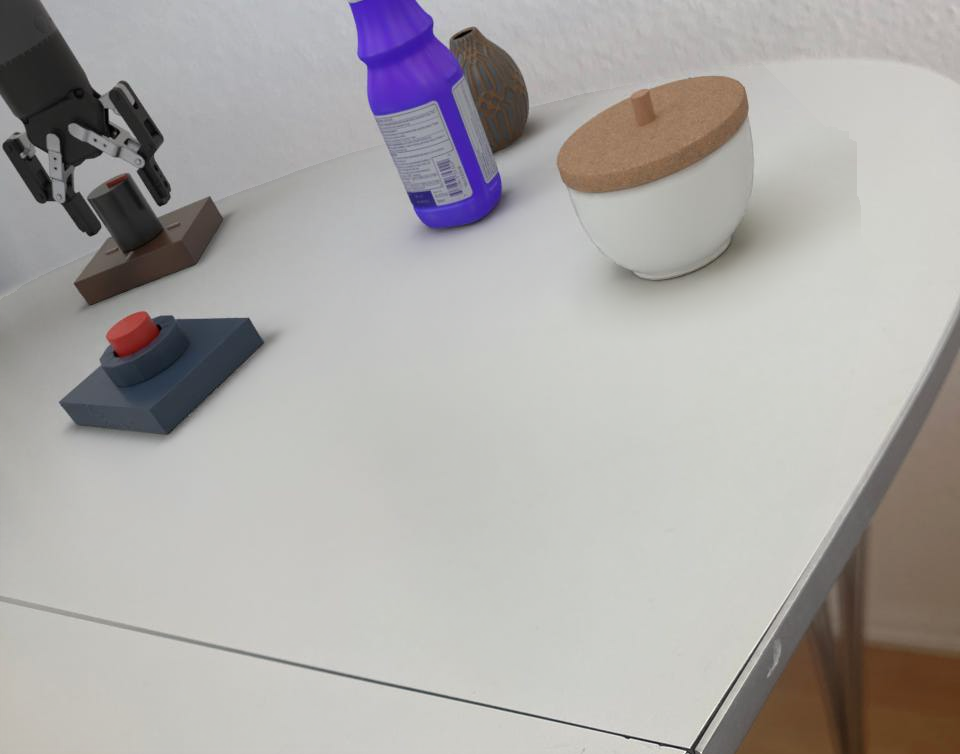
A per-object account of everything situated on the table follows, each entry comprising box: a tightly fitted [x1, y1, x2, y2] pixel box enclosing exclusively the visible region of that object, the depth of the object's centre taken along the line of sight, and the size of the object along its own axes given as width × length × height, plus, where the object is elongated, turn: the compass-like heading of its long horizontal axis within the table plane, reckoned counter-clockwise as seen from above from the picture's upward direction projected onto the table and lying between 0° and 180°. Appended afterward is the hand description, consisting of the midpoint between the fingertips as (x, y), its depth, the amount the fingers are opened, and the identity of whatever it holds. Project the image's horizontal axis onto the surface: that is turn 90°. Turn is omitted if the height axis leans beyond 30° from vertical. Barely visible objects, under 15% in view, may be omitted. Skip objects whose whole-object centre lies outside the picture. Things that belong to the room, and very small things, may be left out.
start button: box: [105, 310, 160, 357], centre depth 74 cm, size 4×4×2 cm
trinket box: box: [556, 75, 755, 281], centre depth 57 cm, size 11×11×9 cm
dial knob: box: [86, 172, 163, 252], centre depth 97 cm, size 5×5×6 cm
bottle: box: [347, 0, 503, 229], centre depth 72 cm, size 7×6×17 cm
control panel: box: [73, 195, 224, 306], centre depth 100 cm, size 13×10×3 cm
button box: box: [58, 314, 265, 435], centre depth 76 cm, size 13×11×4 cm
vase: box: [448, 26, 530, 152], centre depth 83 cm, size 7×7×9 cm
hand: (130, 217), depth 98 cm, fingers open, 8 cm apart
